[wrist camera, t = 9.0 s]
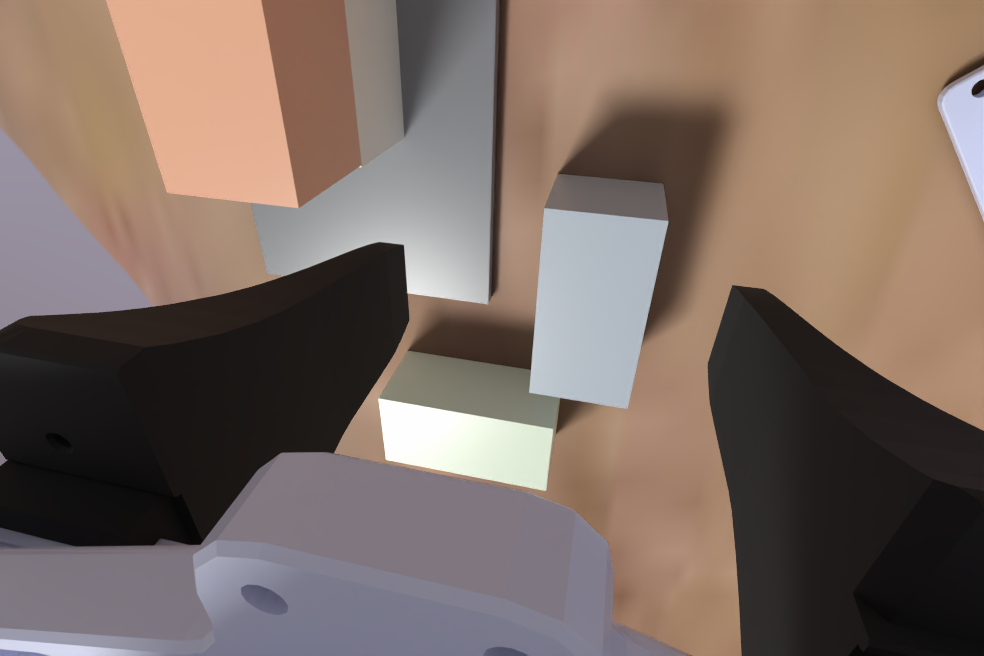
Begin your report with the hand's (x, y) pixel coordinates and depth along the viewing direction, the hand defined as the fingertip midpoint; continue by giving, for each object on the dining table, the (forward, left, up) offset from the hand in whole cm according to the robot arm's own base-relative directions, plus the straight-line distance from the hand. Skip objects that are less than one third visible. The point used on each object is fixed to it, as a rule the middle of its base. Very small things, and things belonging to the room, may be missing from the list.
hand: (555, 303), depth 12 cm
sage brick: (+11, +7, -11) cm, 17 cm away
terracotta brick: (+4, -10, -6) cm, 12 cm away
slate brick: (+2, +4, -11) cm, 11 cm away
